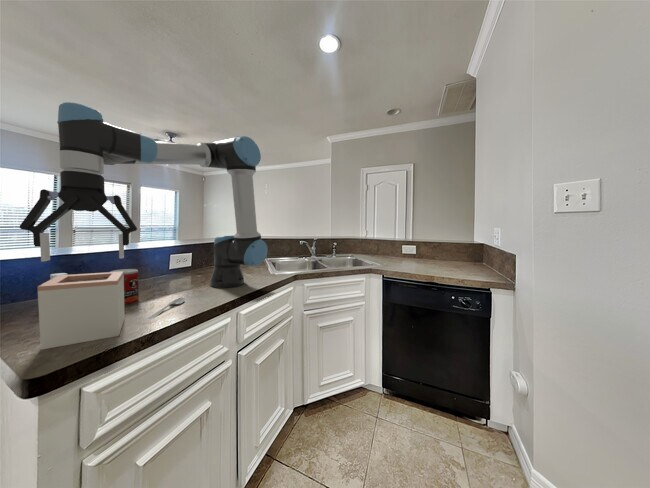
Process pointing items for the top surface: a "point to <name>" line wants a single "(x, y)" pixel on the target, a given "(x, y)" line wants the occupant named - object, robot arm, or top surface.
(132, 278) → the canned food
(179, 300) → the spoon
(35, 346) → the top surface
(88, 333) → the drop box
